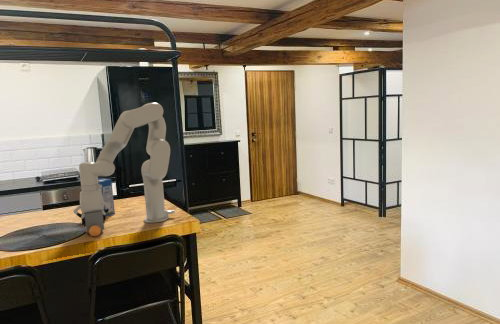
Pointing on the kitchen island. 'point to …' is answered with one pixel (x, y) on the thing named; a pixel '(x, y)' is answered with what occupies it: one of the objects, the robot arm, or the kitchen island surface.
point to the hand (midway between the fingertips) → (94, 224)
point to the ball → (94, 230)
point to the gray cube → (94, 220)
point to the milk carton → (107, 195)
